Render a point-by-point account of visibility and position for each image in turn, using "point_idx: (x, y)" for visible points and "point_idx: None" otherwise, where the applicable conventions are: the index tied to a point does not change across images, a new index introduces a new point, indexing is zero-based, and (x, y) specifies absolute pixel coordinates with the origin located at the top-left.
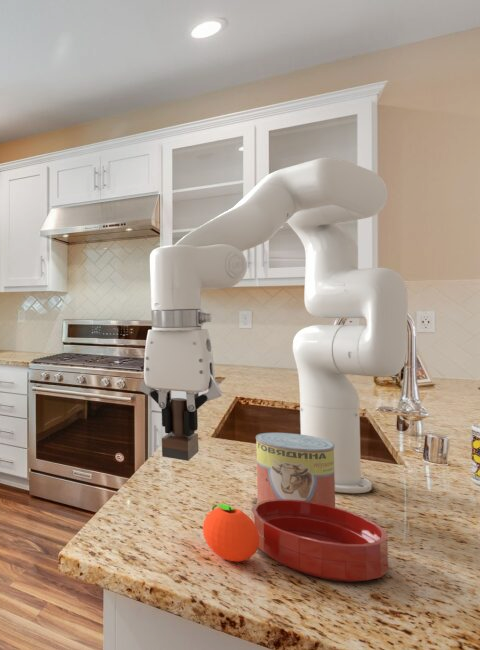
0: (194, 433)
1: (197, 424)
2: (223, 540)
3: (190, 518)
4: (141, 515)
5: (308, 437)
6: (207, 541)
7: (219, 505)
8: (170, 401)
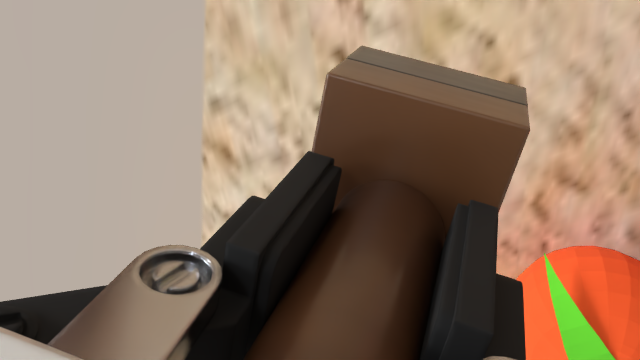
0: (500, 132)
1: (521, 297)
2: None
3: (478, 20)
4: (308, 69)
5: None
6: None
7: (570, 351)
8: (207, 321)
